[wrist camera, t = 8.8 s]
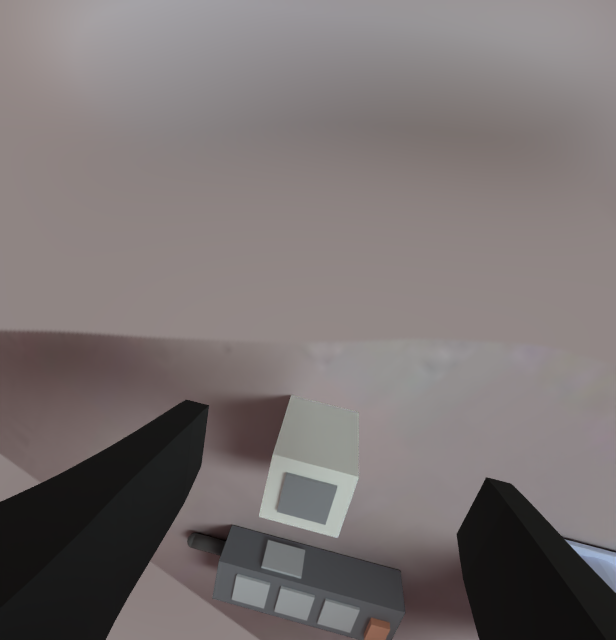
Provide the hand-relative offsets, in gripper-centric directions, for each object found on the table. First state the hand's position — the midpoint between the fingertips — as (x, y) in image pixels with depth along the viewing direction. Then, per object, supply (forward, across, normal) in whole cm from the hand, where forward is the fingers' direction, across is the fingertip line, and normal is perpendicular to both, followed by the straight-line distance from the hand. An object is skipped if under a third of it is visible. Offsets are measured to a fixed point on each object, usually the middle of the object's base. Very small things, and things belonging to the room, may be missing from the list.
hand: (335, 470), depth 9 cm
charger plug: (+10, 0, +7) cm, 13 cm away
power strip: (+10, -1, +18) cm, 21 cm away
